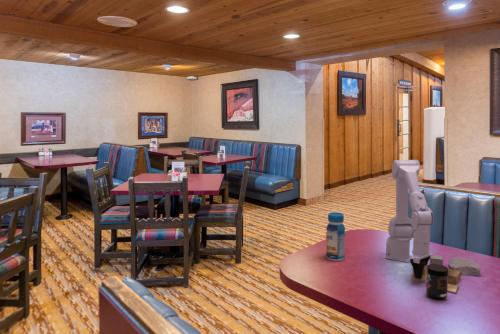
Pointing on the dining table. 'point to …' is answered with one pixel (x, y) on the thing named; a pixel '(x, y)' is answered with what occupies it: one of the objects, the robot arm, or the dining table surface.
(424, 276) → the maple block
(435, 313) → the dining table surface
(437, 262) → the slate block
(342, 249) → the beverage bottle
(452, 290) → the tile
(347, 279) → the dining table surface
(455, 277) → the walnut block
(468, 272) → the stone block
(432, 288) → the supplement container
